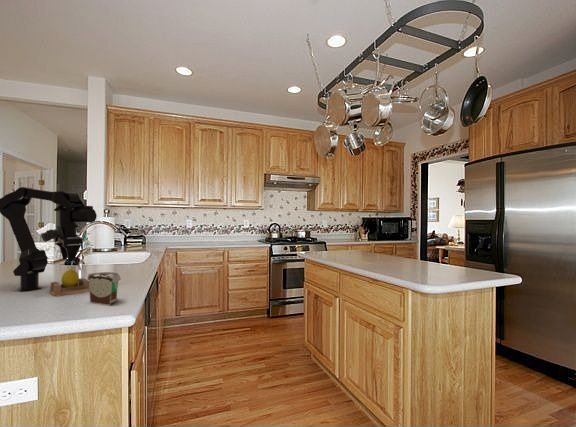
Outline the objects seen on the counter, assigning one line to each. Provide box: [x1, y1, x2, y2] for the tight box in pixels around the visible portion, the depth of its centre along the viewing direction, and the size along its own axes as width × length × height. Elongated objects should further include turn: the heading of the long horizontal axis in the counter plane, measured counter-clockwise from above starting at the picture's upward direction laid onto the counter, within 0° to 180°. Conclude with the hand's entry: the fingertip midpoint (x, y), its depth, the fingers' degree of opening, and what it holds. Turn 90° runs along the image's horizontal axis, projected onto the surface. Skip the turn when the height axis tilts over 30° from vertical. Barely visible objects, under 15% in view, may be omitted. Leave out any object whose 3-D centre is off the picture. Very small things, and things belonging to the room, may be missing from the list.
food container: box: [86, 271, 121, 306], centre depth 107 cm, size 12×6×10 cm, turn 71°
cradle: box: [49, 277, 89, 297], centre depth 119 cm, size 9×12×4 cm
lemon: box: [61, 268, 80, 288], centre depth 120 cm, size 6×6×8 cm
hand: (67, 260), depth 122 cm, fingers open, 9 cm apart
